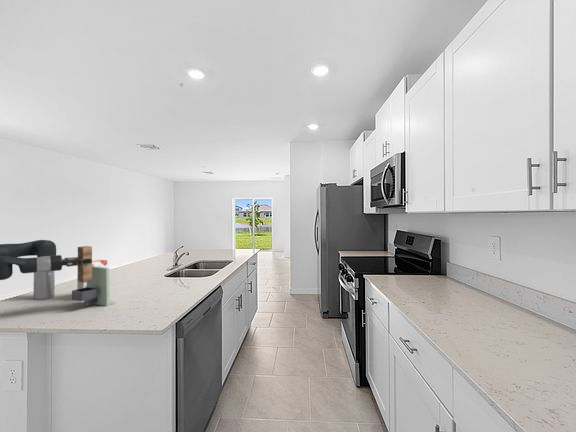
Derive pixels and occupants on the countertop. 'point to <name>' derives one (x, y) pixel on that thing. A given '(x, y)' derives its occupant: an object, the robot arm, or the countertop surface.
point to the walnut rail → (85, 269)
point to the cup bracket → (95, 289)
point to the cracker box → (94, 263)
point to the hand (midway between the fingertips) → (90, 259)
